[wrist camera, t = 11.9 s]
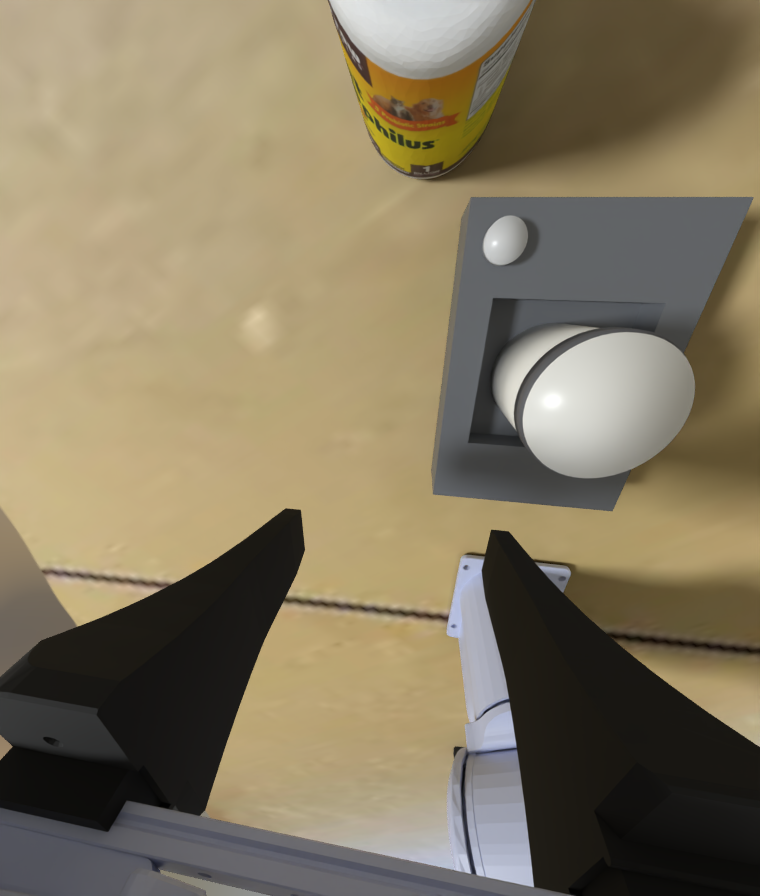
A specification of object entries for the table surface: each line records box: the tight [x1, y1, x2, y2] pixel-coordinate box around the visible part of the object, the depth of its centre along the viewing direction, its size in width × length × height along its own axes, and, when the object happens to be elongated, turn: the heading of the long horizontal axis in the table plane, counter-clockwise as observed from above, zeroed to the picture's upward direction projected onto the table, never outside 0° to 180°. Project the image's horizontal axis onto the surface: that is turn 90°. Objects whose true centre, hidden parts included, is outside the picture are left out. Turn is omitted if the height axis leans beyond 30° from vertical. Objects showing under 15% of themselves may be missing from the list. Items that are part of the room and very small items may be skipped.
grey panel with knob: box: [431, 197, 754, 511], centre depth 15 cm, size 14×10×4 cm
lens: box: [490, 323, 695, 478], centre depth 13 cm, size 5×5×6 cm
